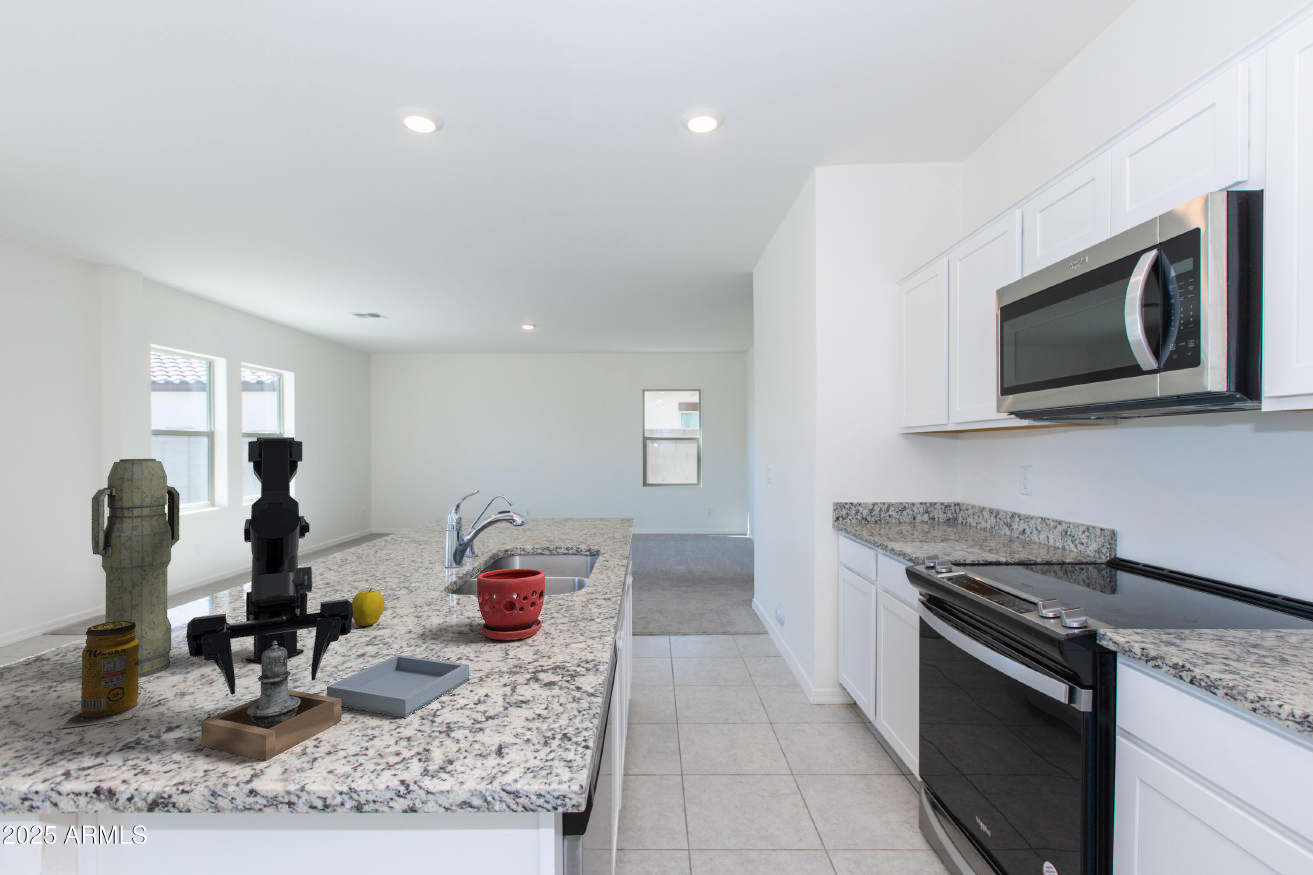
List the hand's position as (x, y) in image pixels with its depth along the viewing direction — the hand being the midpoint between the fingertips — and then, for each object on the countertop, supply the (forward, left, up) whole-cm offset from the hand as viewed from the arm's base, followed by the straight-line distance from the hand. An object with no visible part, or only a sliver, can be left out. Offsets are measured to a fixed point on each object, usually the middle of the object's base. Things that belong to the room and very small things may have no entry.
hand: (274, 685), depth 78 cm
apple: (-26, +42, -7) cm, 50 cm away
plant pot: (+5, +47, -7) cm, 48 cm away
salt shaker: (-1, +1, -7) cm, 7 cm away
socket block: (-1, +1, -7) cm, 7 cm away
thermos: (-43, +10, -7) cm, 45 cm away
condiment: (-29, -2, -7) cm, 30 cm away
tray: (+5, +17, -7) cm, 19 cm away
